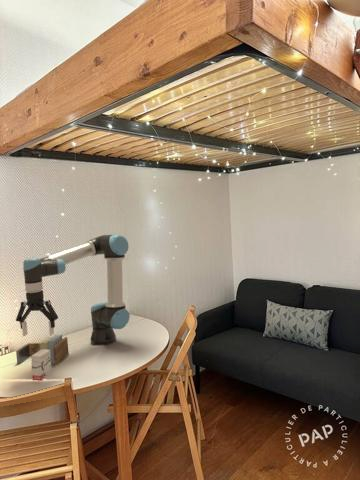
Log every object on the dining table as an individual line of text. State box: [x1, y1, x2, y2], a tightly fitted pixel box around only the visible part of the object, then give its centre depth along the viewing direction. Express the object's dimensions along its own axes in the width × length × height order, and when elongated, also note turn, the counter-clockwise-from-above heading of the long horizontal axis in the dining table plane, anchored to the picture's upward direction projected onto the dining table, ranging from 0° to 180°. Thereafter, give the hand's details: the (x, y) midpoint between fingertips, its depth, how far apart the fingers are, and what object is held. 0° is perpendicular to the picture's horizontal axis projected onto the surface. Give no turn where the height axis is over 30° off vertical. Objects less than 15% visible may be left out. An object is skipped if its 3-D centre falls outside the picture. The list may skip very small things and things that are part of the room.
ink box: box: [30, 349, 52, 382], centre depth 159 cm, size 9×5×12 cm, turn 168°
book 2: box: [47, 334, 63, 365], centre depth 174 cm, size 4×9×12 cm, turn 173°
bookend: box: [15, 343, 31, 365], centre depth 177 cm, size 2×9×7 cm, turn 173°
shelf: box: [27, 336, 70, 366], centre depth 176 cm, size 23×13×11 cm, turn 83°
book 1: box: [39, 336, 53, 350], centre depth 175 cm, size 4×8×11 cm, turn 173°
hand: (38, 334), depth 158 cm, fingers open, 13 cm apart
